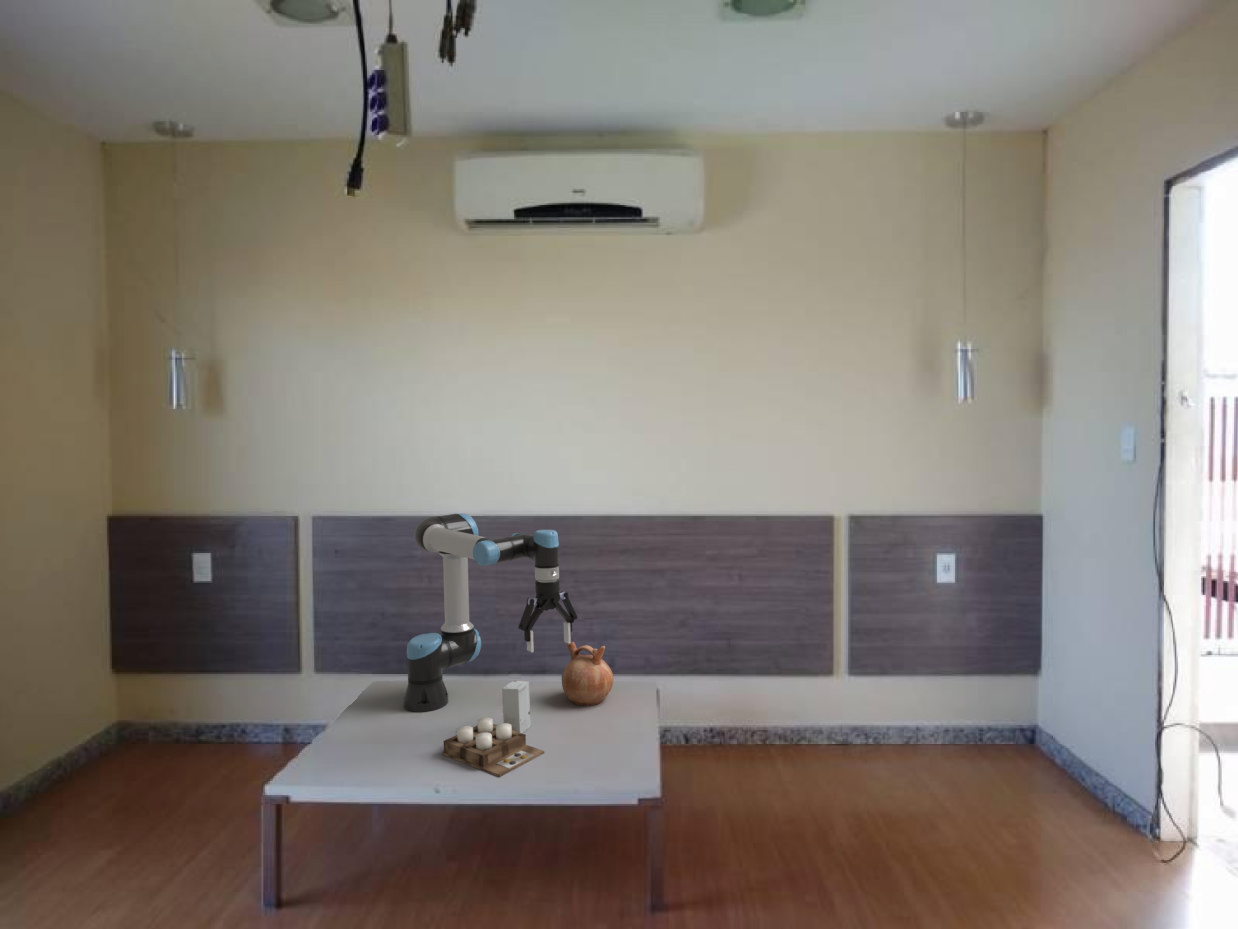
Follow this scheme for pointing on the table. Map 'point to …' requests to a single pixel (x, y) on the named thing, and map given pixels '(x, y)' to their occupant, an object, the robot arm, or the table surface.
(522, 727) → the skincare box
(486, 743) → the button
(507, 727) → the button
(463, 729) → the button
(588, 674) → the jug
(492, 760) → the board
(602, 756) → the table surface
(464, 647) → the robot arm
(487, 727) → the button
